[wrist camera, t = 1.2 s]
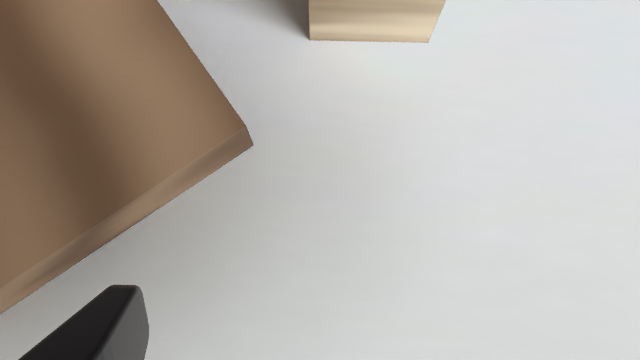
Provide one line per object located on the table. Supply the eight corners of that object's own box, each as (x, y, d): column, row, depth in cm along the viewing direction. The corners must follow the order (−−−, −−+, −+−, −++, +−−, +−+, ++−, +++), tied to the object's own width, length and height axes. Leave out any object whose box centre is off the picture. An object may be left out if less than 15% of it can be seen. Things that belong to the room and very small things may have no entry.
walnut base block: (-12, 321, 21) (-55, 323, 19) (-149, 77, 23) (-203, 51, 21) (253, 145, 23) (245, 125, 20) (102, -70, 25) (78, -110, 22)
